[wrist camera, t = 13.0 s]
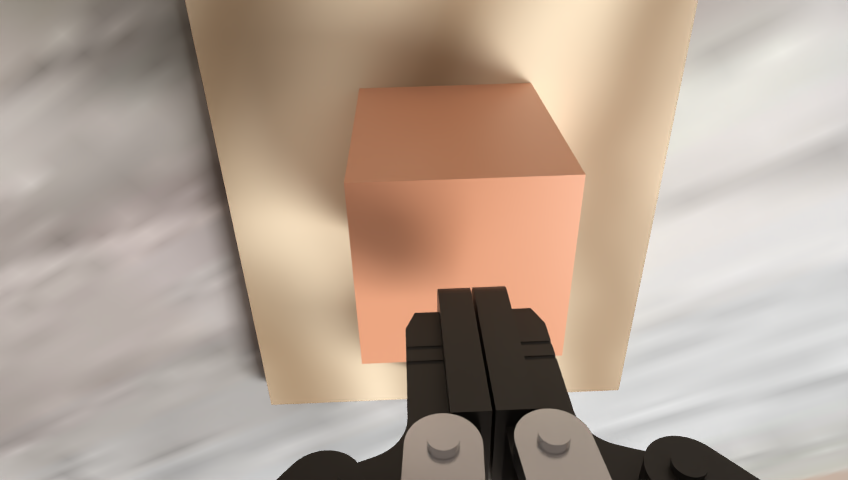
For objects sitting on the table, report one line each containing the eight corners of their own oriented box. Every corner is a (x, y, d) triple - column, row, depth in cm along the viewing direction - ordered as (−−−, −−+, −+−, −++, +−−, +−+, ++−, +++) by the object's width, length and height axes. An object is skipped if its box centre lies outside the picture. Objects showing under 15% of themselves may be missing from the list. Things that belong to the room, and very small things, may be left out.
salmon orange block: (531, 82, 19) (585, 174, 14) (520, 229, 22) (562, 355, 17) (359, 88, 19) (343, 183, 14) (370, 235, 22) (361, 363, 16)
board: (747, -353, 15) (772, -368, 14) (610, 370, 28) (618, 389, 27) (128, -343, 15) (108, -358, 14) (276, 384, 27) (271, 404, 26)
